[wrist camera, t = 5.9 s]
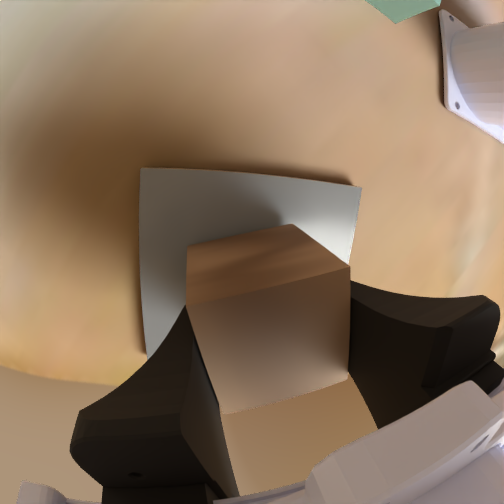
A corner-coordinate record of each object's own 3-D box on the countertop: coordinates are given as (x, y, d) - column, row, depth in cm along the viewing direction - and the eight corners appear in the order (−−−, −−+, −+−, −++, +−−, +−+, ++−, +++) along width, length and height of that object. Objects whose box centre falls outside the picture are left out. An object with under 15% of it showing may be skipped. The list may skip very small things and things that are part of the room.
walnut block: (292, 223, 12) (350, 266, 8) (301, 312, 14) (347, 379, 9) (187, 245, 12) (185, 306, 7) (210, 334, 13) (223, 415, 9)
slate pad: (353, 185, 14) (361, 187, 13) (318, 351, 17) (323, 359, 16) (143, 167, 12) (140, 168, 11) (149, 356, 15) (148, 366, 14)
